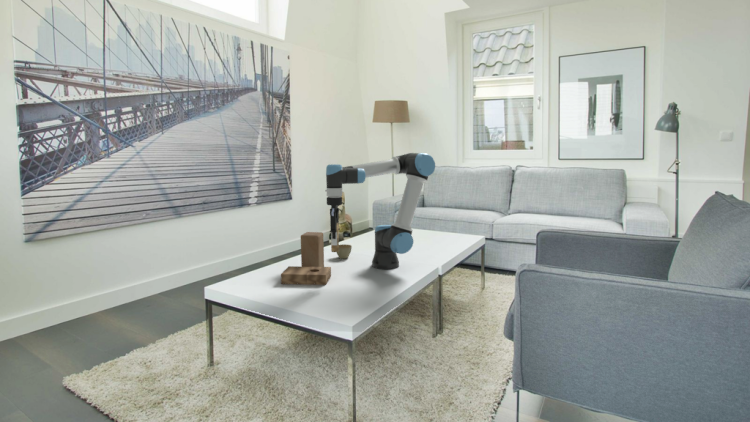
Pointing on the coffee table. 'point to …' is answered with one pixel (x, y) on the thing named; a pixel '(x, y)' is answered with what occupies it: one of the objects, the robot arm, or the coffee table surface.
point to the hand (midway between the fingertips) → (334, 244)
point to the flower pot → (344, 251)
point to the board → (306, 275)
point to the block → (312, 249)
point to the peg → (336, 247)
